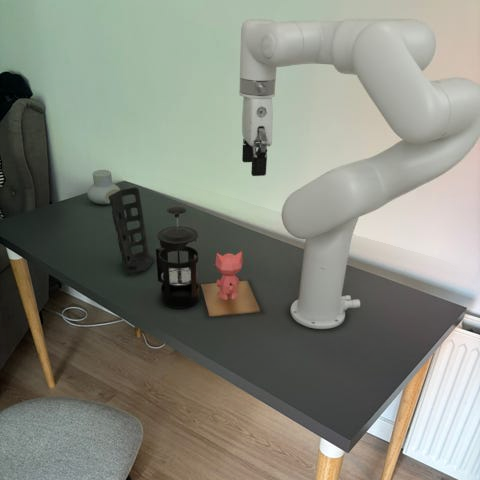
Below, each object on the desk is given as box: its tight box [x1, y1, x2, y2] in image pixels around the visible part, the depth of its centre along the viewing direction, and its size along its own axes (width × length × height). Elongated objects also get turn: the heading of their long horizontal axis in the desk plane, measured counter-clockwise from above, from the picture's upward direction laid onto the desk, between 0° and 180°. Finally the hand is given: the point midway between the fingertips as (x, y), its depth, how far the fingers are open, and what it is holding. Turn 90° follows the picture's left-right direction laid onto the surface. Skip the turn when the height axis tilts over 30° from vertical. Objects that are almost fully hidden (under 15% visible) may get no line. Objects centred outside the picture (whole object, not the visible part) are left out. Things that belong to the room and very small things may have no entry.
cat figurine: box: [212, 250, 244, 300], centre depth 120 cm, size 7×7×12 cm
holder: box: [109, 187, 153, 276], centre depth 130 cm, size 11×8×20 cm
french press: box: [155, 205, 201, 310], centre depth 116 cm, size 12×9×23 cm
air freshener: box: [86, 169, 121, 206], centre depth 169 cm, size 11×8×10 cm
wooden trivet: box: [200, 280, 261, 317], centre depth 123 cm, size 12×14×1 cm
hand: (253, 168), depth 117 cm, fingers open, 9 cm apart
